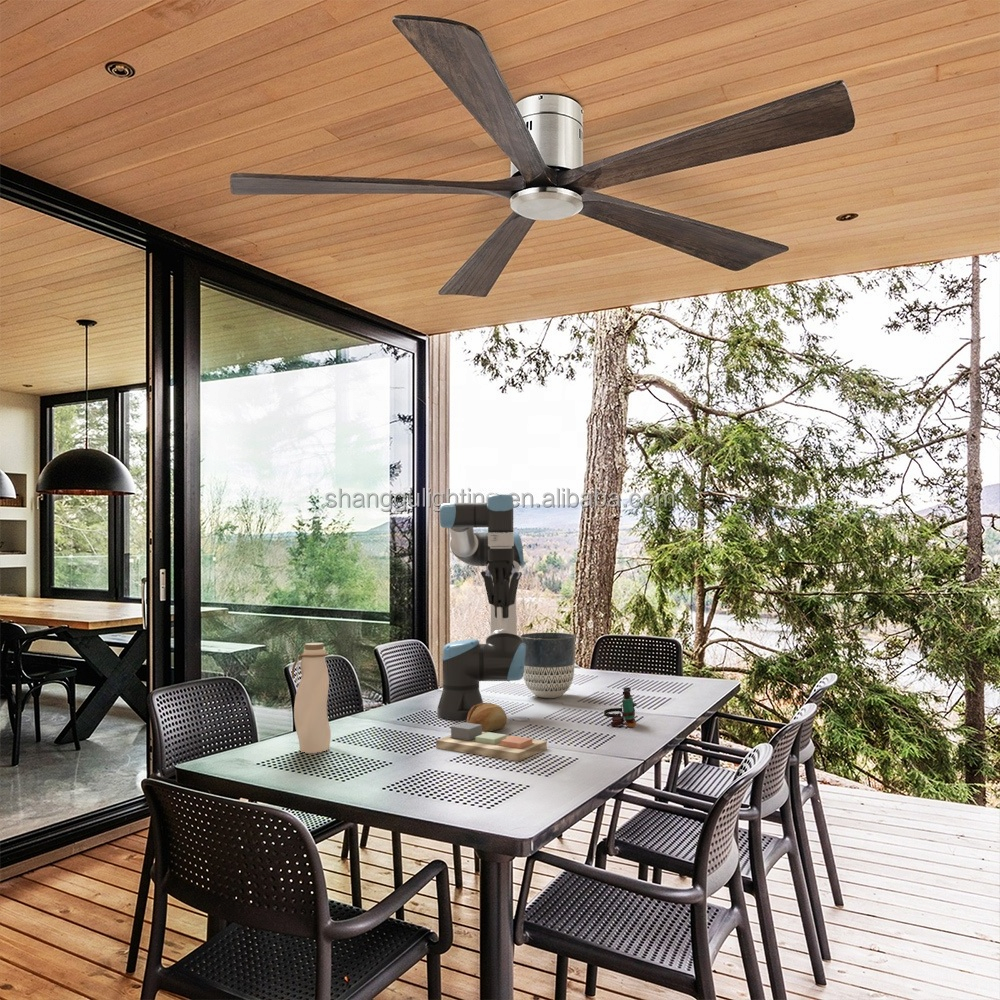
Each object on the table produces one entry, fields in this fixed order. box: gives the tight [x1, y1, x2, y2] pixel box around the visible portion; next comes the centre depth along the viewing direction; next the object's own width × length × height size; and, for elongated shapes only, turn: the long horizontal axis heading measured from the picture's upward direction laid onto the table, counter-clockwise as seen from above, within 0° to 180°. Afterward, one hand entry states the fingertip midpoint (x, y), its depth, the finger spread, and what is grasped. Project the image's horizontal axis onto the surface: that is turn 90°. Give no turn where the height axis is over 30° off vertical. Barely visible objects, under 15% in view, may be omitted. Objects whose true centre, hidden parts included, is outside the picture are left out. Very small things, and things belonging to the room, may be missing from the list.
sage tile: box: [475, 731, 507, 745], centre depth 212 cm, size 6×6×3 cm
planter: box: [519, 632, 576, 699], centre depth 281 cm, size 20×20×21 cm
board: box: [435, 732, 548, 762], centre depth 212 cm, size 26×14×2 cm, turn 57°
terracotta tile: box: [501, 735, 533, 749], centre depth 207 cm, size 6×6×3 cm
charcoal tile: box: [450, 721, 482, 741], centre depth 216 cm, size 6×6×3 cm
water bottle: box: [291, 642, 332, 754], centre depth 213 cm, size 10×9×28 cm
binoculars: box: [603, 686, 638, 728], centre depth 237 cm, size 9×11×10 cm
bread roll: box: [466, 702, 508, 732], centre depth 231 cm, size 10×15×8 cm, turn 146°
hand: (501, 629), depth 230 cm, fingers closed
